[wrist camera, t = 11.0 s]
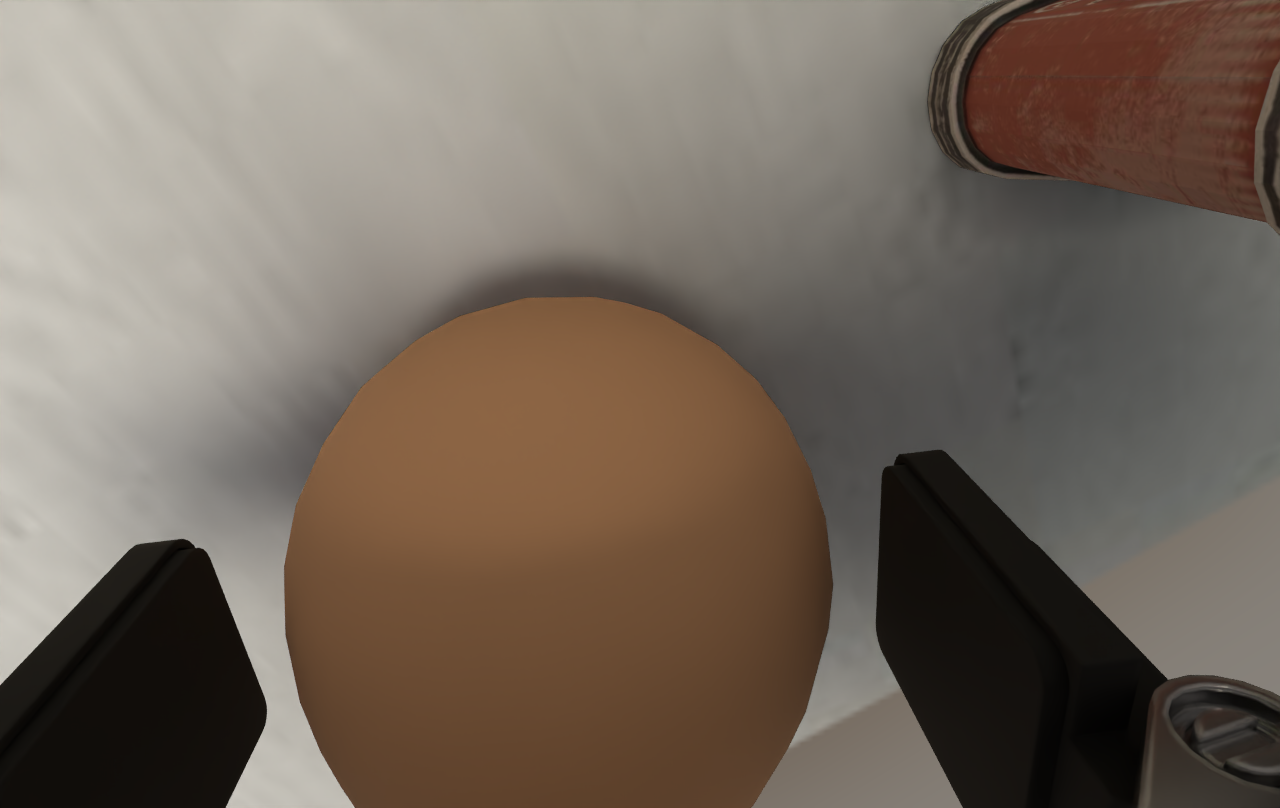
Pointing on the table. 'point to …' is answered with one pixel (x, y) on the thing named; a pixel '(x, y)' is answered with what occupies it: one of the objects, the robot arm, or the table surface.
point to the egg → (558, 570)
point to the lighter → (1120, 98)
